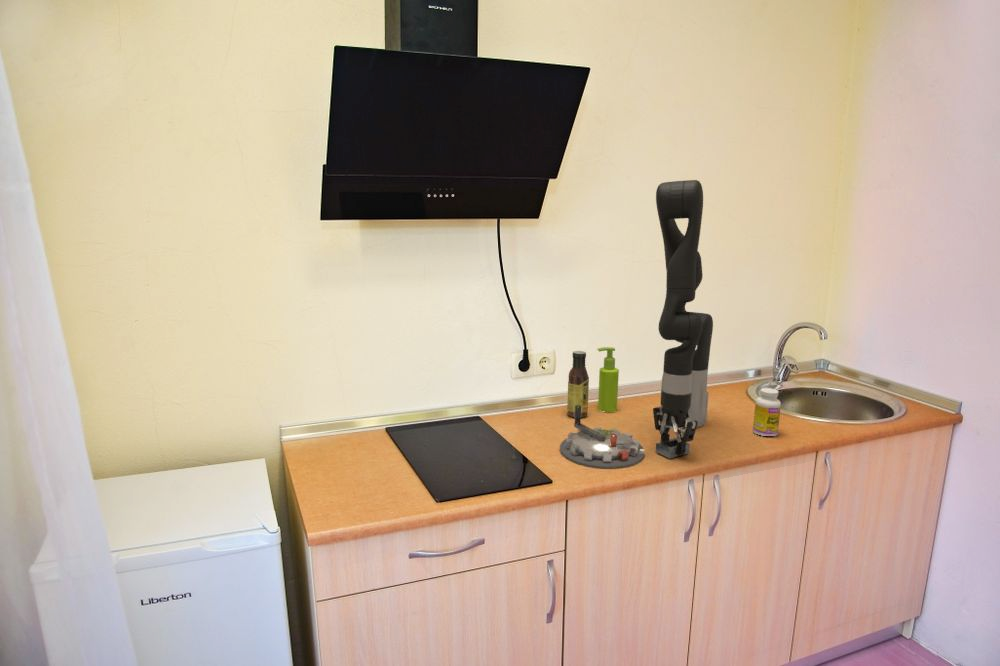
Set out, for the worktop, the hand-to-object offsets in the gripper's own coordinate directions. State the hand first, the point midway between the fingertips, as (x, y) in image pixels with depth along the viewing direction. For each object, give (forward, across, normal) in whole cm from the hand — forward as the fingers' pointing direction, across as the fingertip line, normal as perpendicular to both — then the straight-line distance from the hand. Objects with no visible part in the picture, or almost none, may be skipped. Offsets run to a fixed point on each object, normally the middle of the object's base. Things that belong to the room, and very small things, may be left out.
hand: (672, 450), depth 169 cm
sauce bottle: (+1, +36, +4) cm, 36 cm away
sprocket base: (+1, +10, +15) cm, 18 cm away
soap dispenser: (+1, +36, -7) cm, 37 cm away
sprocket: (0, +11, +15) cm, 19 cm away
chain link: (0, 0, 0) cm, 0 cm away
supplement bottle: (+1, -2, -34) cm, 34 cm away
